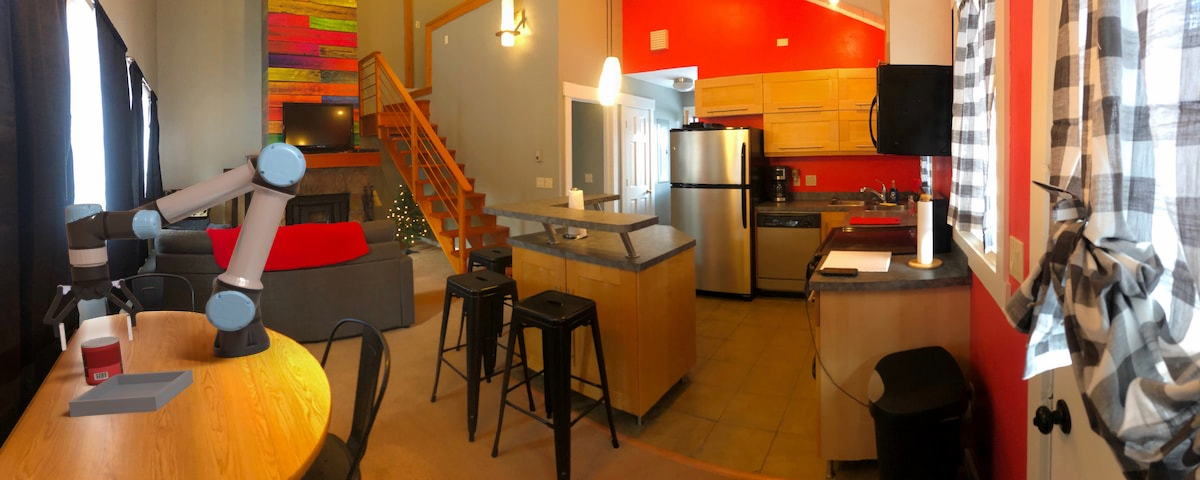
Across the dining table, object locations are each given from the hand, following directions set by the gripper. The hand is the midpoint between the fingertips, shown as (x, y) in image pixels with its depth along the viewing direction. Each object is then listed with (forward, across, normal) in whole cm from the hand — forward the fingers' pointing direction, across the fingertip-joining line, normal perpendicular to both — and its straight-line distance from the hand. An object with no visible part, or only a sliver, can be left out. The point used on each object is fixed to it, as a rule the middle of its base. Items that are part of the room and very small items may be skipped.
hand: (98, 344), depth 164 cm
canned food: (+10, -1, 0) cm, 10 cm away
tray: (+10, -6, +21) cm, 24 cm away
